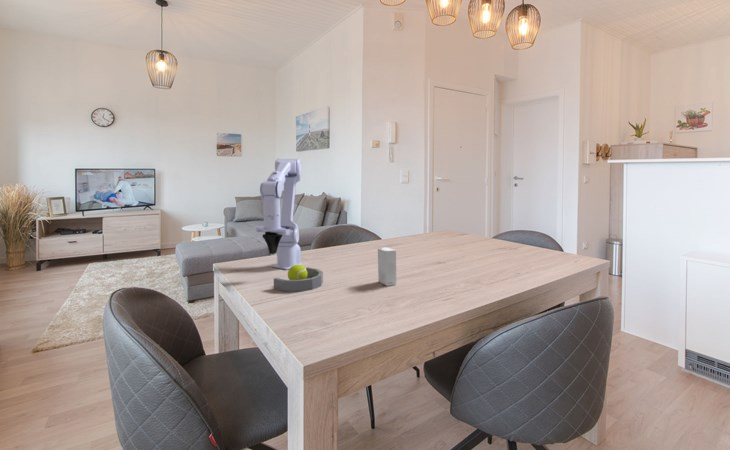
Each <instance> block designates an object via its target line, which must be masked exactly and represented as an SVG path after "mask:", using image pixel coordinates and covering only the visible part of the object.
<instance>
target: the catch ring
mask: <svg viewBox="0 0 730 450" xmlns="http://www.w3.org/2000/svg"><path fill="white" fill-rule="evenodd" d="M305 268H306V270H307V273H308V275H307V279H302V280H289V279H284V278H280V277H279V278H278V277H275V278H273V290H276V291H280V292H297V293H299V292H306V291H312V290H314V289H317V288H319V287H322V286H323V283H324V271H322V270H321V269H319V268H315V267H310V266H307V267H305Z"/></svg>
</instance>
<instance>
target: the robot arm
mask: <svg viewBox="0 0 730 450" xmlns="http://www.w3.org/2000/svg"><path fill="white" fill-rule="evenodd" d="M302 166H303V165H302V162H301V159H300V158H276V159H275V162H274V169H275V170H273V172H271V173H270V174H269V176H268V178H267V180H266V181H265V180H264V181H262V182H261V183H260V187H259V194H260V197H261V203H262V209H263V210H262V211H263V212H262V213H263V225H257V226H255V232H256V233H264V234H262V238H263V239H264V241H265V244H266V246H267V249H268V253H269V254H270V255H275V254H276V263H277V264H274V265H272V268H277V269H282V270H289V269H290V268H291V267H292V266H294V265H302V266H303V263H302V257H301V256H302V252H301V251H302V250H301V246H300V245H299V244H298V243H299V241H300V231H299V230H300V228H299V226H298V224H297V223H296V222H294V210H295V209H294V208H295V197H296V187H297V183H299V182H300V181H301V178H302V170H303V169H302V168H303V167H302ZM281 197H282V200H281ZM281 201H282V203H281Z"/></svg>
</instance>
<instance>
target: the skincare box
mask: <svg viewBox="0 0 730 450" xmlns="http://www.w3.org/2000/svg"><path fill="white" fill-rule="evenodd" d="M377 271H378V275H377V276H378V277H377V278H378V279H377V280H378V282H380V283H381V284H382V285H385V286H388V287H389V286H396V285H397V250H396V249H393V248H391V247H389V246H387V247H380V248H379V247H378V248H377Z"/></svg>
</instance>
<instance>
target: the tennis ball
mask: <svg viewBox="0 0 730 450" xmlns="http://www.w3.org/2000/svg"><path fill="white" fill-rule="evenodd" d="M306 268H307V267H305V266H304V265H303V264H302V265H294V266H292V267H291V268H290V269H288V272H287V278H288V280H302V279H308V277H307V275H308V273H307V270H306Z"/></svg>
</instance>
